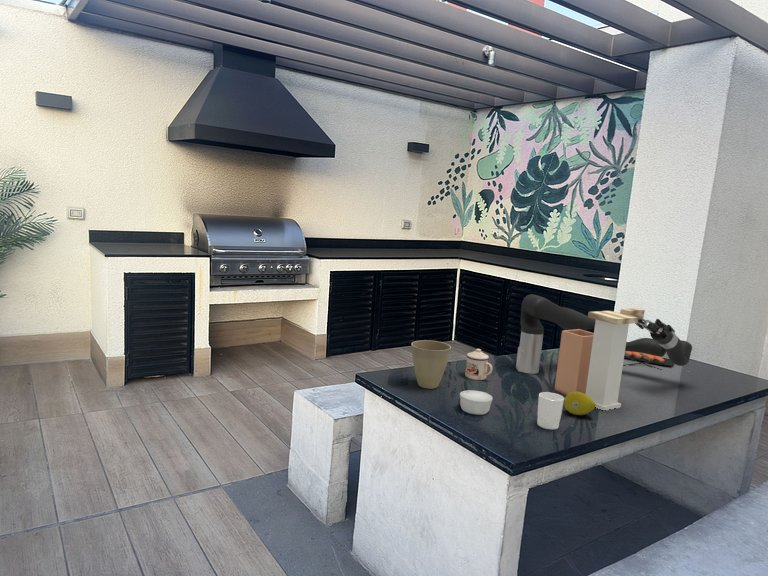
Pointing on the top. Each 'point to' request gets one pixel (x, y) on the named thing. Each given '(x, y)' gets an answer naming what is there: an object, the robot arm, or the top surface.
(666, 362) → the sushi plate
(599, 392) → the pedestal
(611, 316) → the tan t-shaped block
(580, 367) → the tall open box
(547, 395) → the white cup
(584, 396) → the lemon
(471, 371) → the teacup with lid
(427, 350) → the plant pot
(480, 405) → the ramekin
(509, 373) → the top surface
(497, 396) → the top surface
